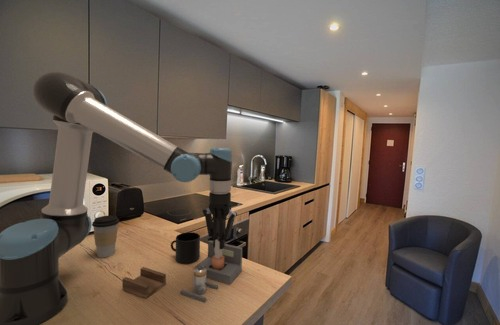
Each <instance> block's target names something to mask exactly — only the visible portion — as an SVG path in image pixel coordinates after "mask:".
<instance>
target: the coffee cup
mask: <svg viewBox="0 0 500 325" xmlns="http://www.w3.org/2000/svg"><path fill="white" fill-rule="evenodd" d="M119 223H120V219H119V218H118V216H116V215H111V214H110V215H101V216H98V217H96V218H94V220H93V222H91V227H93V237H94V245H95V248H96V254H97V257H98V258H108V257H109V258H110V257H112V256H113V255H114V254H115V251H116V242H117V236H118V229H119V227H118V224H119Z"/></svg>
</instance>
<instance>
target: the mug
mask: <svg viewBox="0 0 500 325" xmlns="http://www.w3.org/2000/svg"><path fill="white" fill-rule="evenodd" d="M174 244H175V247H174ZM170 248H171V250H172V251H173V252H175V261H176V262H177V263H179V264H193V263H195V262H197V261H199V259H200V256H201V254H200V253H201V251H200V250H201V249H200V248H201V236H200V234H199V233H197V232H192V231H191V232H190V231H189V232H182V233H179V234H178V235H176V236H175V239H174V240H173V241H171V243H170Z"/></svg>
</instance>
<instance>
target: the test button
mask: <svg viewBox="0 0 500 325" xmlns="http://www.w3.org/2000/svg"><path fill="white" fill-rule="evenodd" d="M212 268H213V269H216V270H220V271H221V270H222V269H223V268H224V256H223V255H222V256H221V257H220V258H219V259H217V258H215V255H214V256H213V257H212Z"/></svg>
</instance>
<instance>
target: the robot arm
mask: <svg viewBox="0 0 500 325" xmlns="http://www.w3.org/2000/svg"><path fill="white" fill-rule="evenodd" d="M32 93H33V96H34V99H35V101H36V103H37V104H38V105H39V107H41V108H42V109H43V110H44V111H46V112H48V113H50V114H52V115H53V117H52V122H53V123H54V124H55V125H56V126H57V127H58V131H57V138H56V144H55V145H56V147H55V153H54V160H53V161H54V162H53V168H52V169H53V170H52V178H51V186H50V192H49V198H48V199H49V201H48V204H47V205H46V206H44V207H42V208H41V210H40V211H41V213H40V218H35V219H30V220H25V221H24V222H19V223H15V224H12V225H11V226H9V227H7V228H5V229H4V230H2V231H1V232H0V325H40V324H42V323H44V322H46V321H48V320H50V319H51V318H53V317H55V316H56V315H57V314H59V312H61V311H62V310H63V308H64V307H65V306H66V305H67V303H68V291H67V289H66V287H65V285H64V283H63V281H62V279H61V277H60V274H59V272H60V271H59V269H60V267H59V265H60V264H59V262H60V261H59V259H60V257H63V255H65V254H66V253H68V252H70V251H71V250H72V249H74V248H75V247H76V246H78V245H79V244H80V243H82V242H83V241H84V240H85V239H86V238H87V236H88V235H89V234H90V232H91V229H92V219H91V216H89V215H88V210H89V208H88V207H87V206H86V205H85V204H84V198H85V193H86V192H85V191H86V184H87V176H88V170H89V162H90V161H89V160H90V154H91V153H90V152H91V146H92V140H93V139H92V138H93V133H94V132H95V133H96V134H98V135H100V136H101V137H104V138H106V139H107V140H110V141H111V142H113V143H115V144H116V145H118V146H120V147H122V148H123V149H126V150H127V151H130V152H132V153H133V154H135V155H137V156H139V157H140V158H142V159H144V160H146V161H148V162H149V163H152V164H153V165H156V167H159V168H161V169H163V170H164V171H166V172H167V173H169V174H171V175H172V177H174V179H175V180H176V181H178V182H181V183H190V182H192V181H194V180H196V179H197V178H199V176H204V175H205V176H209V182H208V183H209V184H208V185H209V186H208V188H209V189H208V190H209V191H210V192H209V195H208V198H209V199H208V203H209V205H208V207H207V208H205V209H202V213H203V215H204V217H205V218H204V219H205V224H206V229H207V236H208V237H211V238H212V241H213V247H214V248H215V258H217V259H219V258H220V257H221V256H222V249H223V248H224V246H225V244H226V243H225V242H226V240H228V239H230V237H231V233H232V230H233V225H234V222H235V219H236V217H237V216H238V213H237V212H234V211H233V210H232V207H231V200H232V199H231V198H232V194H231V190H232V168H233V166H232V165H233V159H232V154H233V153H232V150H231V148H228V147H211V148H210V149H209V152H204V153H203V152H202V153H201V152H188V151H186V150H184V149H183V148H180V147H178V145H176V144H174V143H172V142H170V141H169V140H167V139H166V138H163V137H162V136H160V135H158V134H156V132H155V133H154V132H153V131H151V130H150V129H148V128H145V127H144V126H142V125H140V124H139V123H137V122H135V121H134V120H132V119H130V118H129V117H127V116H125V115H123V114H122V113H120V112H118V111H116V110H115V109H112V107H109V105H108V101H107V99H106V96H105V95H104V94H103V92H102V91H101V90H99V89H98V88H97V87H95V86H94V85H92V84H91V83H87V82H86V81H83V80H80V79H79V78H76V77H75V76H73V75H70V74H68V73H65V72H60V71H59V72H58V71H53V72H48V73H44V74H43V75H41V76H39V77H38V78H37V80H36V81H35V82H34V84H33V88H32ZM227 216H228V219H227ZM226 222H227V223H226Z"/></svg>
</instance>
